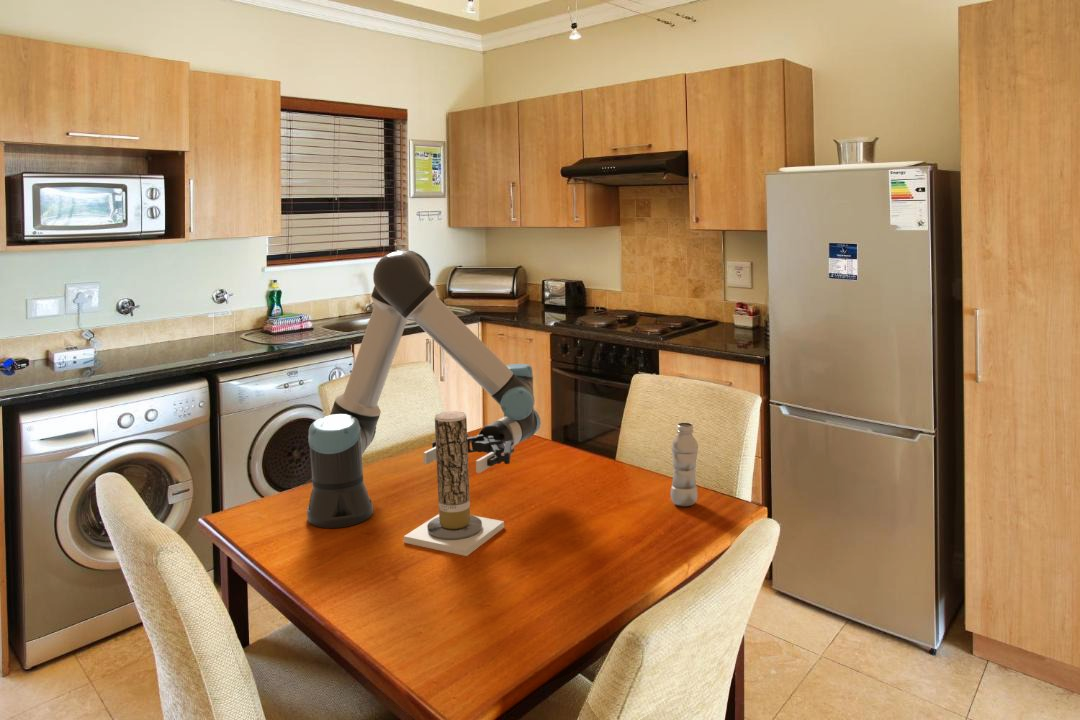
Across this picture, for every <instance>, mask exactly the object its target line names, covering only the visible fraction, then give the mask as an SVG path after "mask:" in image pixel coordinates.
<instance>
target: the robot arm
mask: <svg viewBox="0 0 1080 720" xmlns="http://www.w3.org/2000/svg"><path fill="white" fill-rule="evenodd" d="M372 274H373V275H372V276H373V283H374V287H373V289H372V293H371V295H370V297H371V299H372V301H373V303H374V306H373V309H372V312H371V316H370V317H369V321H368V322H367V323H368V324H367V326H366V329H365V332H364V335H363V338H362V340H361V343H360V345H359V348H358V352H357V355H356V358H355V361H354V363H353V367H352V369H351V372H350V375H349V379H348V381H347V384H346V387H345V389H344V391H343V393H341V394H340V395H338V396H336V398H335V400H334V401H333V405H332V408H331V410H330V413H329V415H328V414H327V415H325V416H322V417H319V418H317V419H315V420H314V421H313V422H312V423H311V424H310V426H309V428H308V436H307V439H308V442H307V443H308V447H309V457H310V469H311V471H310V472H311V480H312V490H311V493H310V498H309V502H308V506H307V508H306V518H307V522H308V523H309V524H310V525H312V526H315V527H317V528H324V529H325V528H326V529H335V528H336V529H339V528H346V527H350V526H351V527H352V526H354V525H357V524H360V523H363V522H365V521H367V520H368V519H370V518H371V517H372V516H373V514H374V507H373V506H374V505H373V501H372V500H371V498H370V496H369V493H368V491H367V488H366V485H365V482H364V469H363V455H364V453H365V451H366V450H367V448H368V447H369V446H370V445H371V443H372V442H373V440H374V438H375V436H376V432H377V431H376V430H377V424H378V422H379V418H380V416H381V414H382V413H381V412H382V411H381V409H380V407H379V406H378V403H379V400H380V398H381V395H382V392H383V389H384V387H385V384H386V381H387V378H388V375H389V373H390V369H391V368H392V365H393V361H394V358H395V356H396V353H397V350H398V347H399V345H400V342H401V338H402V337H403V333H404V330H405V327H406V324H407V322H408V320H411V321H413V322H415V323H416V324H417V326H418V327H420V328H421V329H422V330H423V331H424V332H425V334H427V335H428V336H429V337H430V338H431V339H432V340H433V341H434V342H435V343H436V344H437V345H438V346H439V347H440V348H441V349H442V350H443V351H444V352H445V353H446V354H447V355H449V356H450V358H452V359H453V360H454V361H455V363H456V364H458V365H459V366H460V367H461V369H463V370H464V371H465V372H466V373H467V374H468V375H469V376H470V377H471V379H473V380H474V381H475V382H476V383H477V384H478V385H479V386H480V387H481V388H482V389H483V390H484V391H485V392H486V393H487V394H488V395H489V396H490V397H492V399H493V400H494V401H495V402H496V403H497V404H499V406H500V409H501V410H502V412H503V417H500V418H499V419H497V420H495V421H493V422H491V423H489V424H487V425H486V426H483V427H482V428H481V430H480V431H479V433H478V434H476V435H475V436H469V433H467V445H468V454H470V453H476V452H477V453H486V454H485V455H482V456H481V457H479V458H478V459H476V460H475V471H476V472H475V473H476V474H481V473H482V472H485V471H486V470H488V469H489V468H490V467H492V466H495V465H500V464H501V463H504V464H505V465H509V464H511V463H510V462H511V457H512V454H513V452H515V447H516V446H517V445H519V444H520V443H523V442H524V441H526V440H528V439H530V438H531V437H533V436H534V435H535V434H536V433H537V432H538V431H539V429H540V428H541V423H542V421H541V417H540V416H539V413H538V412H537V411H536V409H534V407H535V396H534V375H533V367H532V366H531V365H529V364H527V363H509V364H505V363H504V362H503V361H502V360H501V359H500V358H499V357H498V355H496V354H495V353H494V352H493V351H492V350H491V349H490V348H489V347H488V346H487V345H486V344H485V343H484V342H483V341H482V340H481V339H480V338H479V337H478V336H477V335H476V334H475V333H474V332H473V331H472V330H471V329H470V328H469V327H468V326H467V325H466V324H465V323H464V322H463V321H462V320H461V319H460V318H459V317H458V316H457V315H456V314H455V313H454V312H453V311H452V310H451V309H450V308H449V307H448V306H447V305H446V304H445V303H444V302H443V301H442V300H441V299H440V298H439V297H438V296H437V289H436V288H435V287H434V286H433V285H432V284H431V268H430V266H429V263H428V262H427V260H426V258H425V257H423V256H422V255H421V254H419V253H418V252H416V251H415V250H410V249H398V250H395V251H393V252H391V253H388V254H386V255H384V256H383V257H381V258H380V260H378V262H377V264H375V266H374V270H373V273H372ZM431 444H432V447H431V448H430V449H427V450H425V451H423V453H422V454H423V455H422V456H423V457H422V458H423V465H429V464H431V463H433V462H434V461H435V462H436V461H437V458H436V440H433V441H432V442H431Z"/></svg>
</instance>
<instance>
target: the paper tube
mask: <svg viewBox="0 0 1080 720" xmlns="http://www.w3.org/2000/svg"><path fill="white" fill-rule="evenodd" d="M467 422H468V421H467V413H466V412H462V411H458V410H456V411H455V410H453V411H452V410H451V411H450V410H449V411H443V412H438V413H436V414H435V415H434V432H435V433H434V435H435V441H436V458H437V460H436V472H437V473H436V477H437V498H438V499H437V503H438V513H439V521H440V525H441V526H442V527H444V528H446V529H460V528H463V527H466V526H467V525H468V524H469V523H470V515H471V509H470V508H471V506H470V504H471V502H470V501H471V500H470V475H469V453H468V445H467V434H468V427H467V425H468V423H467Z"/></svg>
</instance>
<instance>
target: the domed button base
mask: <svg viewBox="0 0 1080 720" xmlns="http://www.w3.org/2000/svg"><path fill="white" fill-rule="evenodd" d="M504 528H505V521H503V520H499V519H494V518H488V517H484V516H483V517H482V516H477V515H472V514H470V523H469V524H468V525H467V526H466V527H463V528H460V529H446V528H444V527H442V526H441V525H440V521H439V514H436V515H435V516H433V517H432V518H430V519H428V520H427V521H425V522H423V524H421V525H419V526H417V527H415V529H413V530H411V531H410V532H408V533H407V534H405V535H403V543H405V544H409V545H413V546H416V547H417V546H418V547H423V548H427V549H431V550H437V551H440V552H444V553H451V554H455V555H459V556H464V557H468V556H469V555H470V554H471V553H473V552H474V551H476V550H477V549H478V548H479V547H480V546H483V544H484V543H487V541H489V540H490V539H492V538H493V537H494V536H495V535H496V534H498V533H499V532H501V531H502V530H503V529H504Z"/></svg>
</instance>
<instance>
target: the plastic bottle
mask: <svg viewBox="0 0 1080 720" xmlns="http://www.w3.org/2000/svg"><path fill="white" fill-rule="evenodd" d="M676 433H677V435H676V436H675V437H674V438H673V440H672V442H671V445H670V446H671V455H672V464H673V465H672V467H673V470H672V471H673V472H672V473H673V474H672V483H671V488H670V500H671V502H672V503H673V504H674V505H676V506H679V507H690V506H694V505H695V503H696V502H697V499H698V488H697V480H696V467H697V460H698V452H699V444H698V442H697V440H696V438H695V437H694V435H693V433H694V425H693V424H692V423H691V422H679V423H677V429H676Z"/></svg>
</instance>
